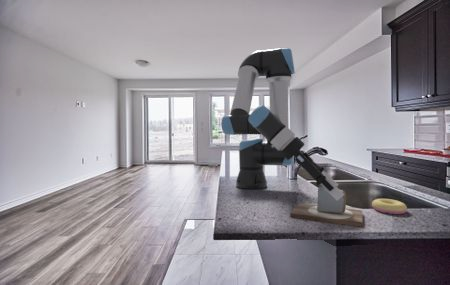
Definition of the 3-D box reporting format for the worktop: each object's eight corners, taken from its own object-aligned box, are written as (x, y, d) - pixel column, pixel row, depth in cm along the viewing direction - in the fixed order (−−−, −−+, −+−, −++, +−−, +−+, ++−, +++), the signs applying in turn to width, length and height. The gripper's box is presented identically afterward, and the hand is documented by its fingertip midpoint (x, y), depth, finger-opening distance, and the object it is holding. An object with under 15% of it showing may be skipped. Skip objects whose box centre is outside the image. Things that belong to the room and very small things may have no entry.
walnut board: (298, 206, 91) (298, 202, 91) (362, 213, 82) (362, 209, 82) (289, 217, 80) (289, 213, 80) (362, 227, 70) (362, 222, 70)
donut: (388, 212, 90) (365, 210, 89) (388, 198, 91) (365, 196, 89) (414, 216, 81) (389, 214, 79) (414, 201, 81) (389, 199, 80)
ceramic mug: (346, 216, 75) (346, 190, 75) (317, 214, 78) (317, 189, 78) (343, 207, 85) (343, 184, 85) (316, 205, 88) (316, 183, 88)
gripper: (282, 149, 96) (325, 191, 92) (275, 155, 72) (332, 212, 68) (297, 135, 94) (341, 176, 90) (294, 136, 71) (354, 193, 67)
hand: (337, 192), depth 79 cm, fingers open, 13 cm apart
